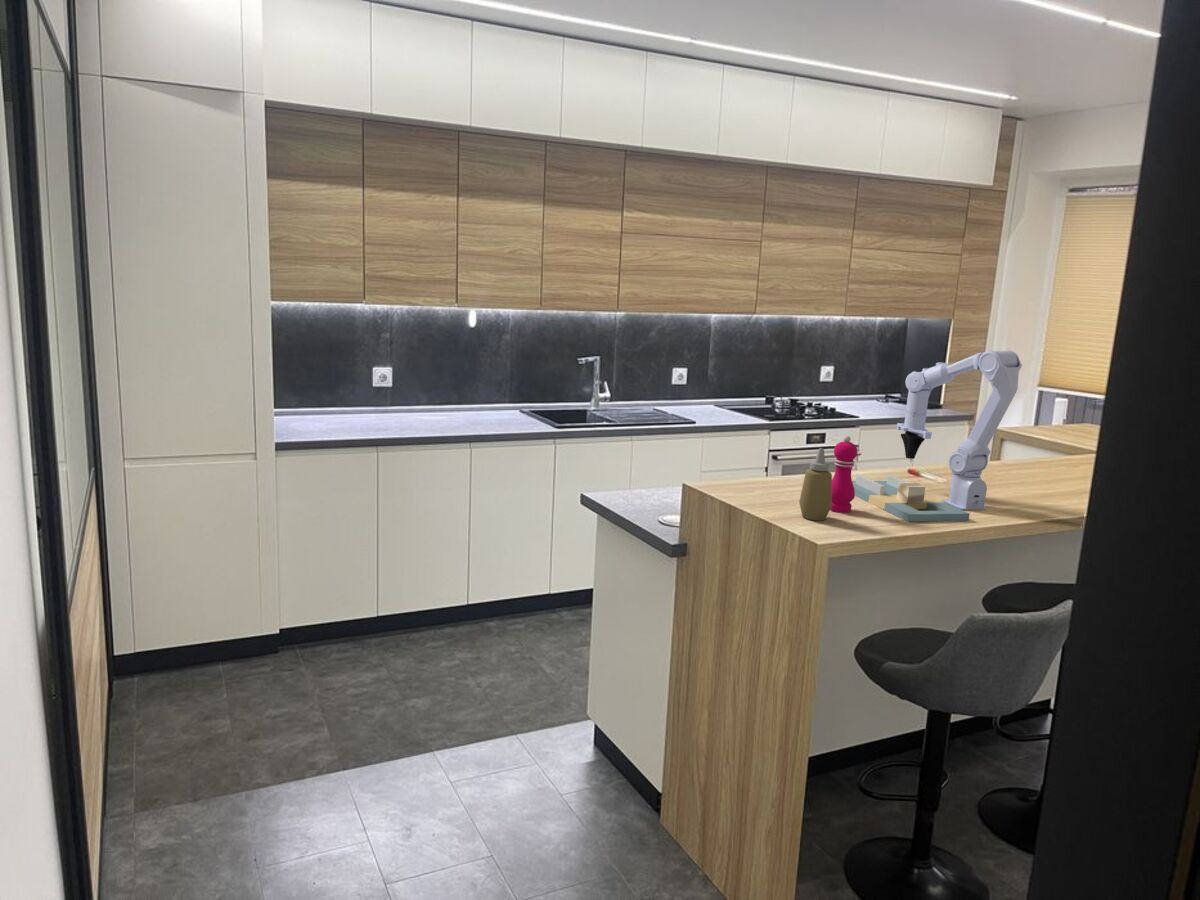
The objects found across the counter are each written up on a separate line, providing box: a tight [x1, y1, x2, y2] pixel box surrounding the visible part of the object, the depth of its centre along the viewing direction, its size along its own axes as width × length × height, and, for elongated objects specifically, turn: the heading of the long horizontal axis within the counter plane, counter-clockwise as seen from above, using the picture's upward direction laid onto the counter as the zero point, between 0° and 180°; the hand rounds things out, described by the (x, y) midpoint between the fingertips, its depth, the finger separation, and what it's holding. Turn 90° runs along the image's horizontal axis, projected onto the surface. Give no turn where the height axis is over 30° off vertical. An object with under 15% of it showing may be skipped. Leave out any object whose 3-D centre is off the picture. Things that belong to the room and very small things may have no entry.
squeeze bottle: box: [798, 447, 833, 521], centre depth 219 cm, size 8×8×18 cm
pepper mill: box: [830, 435, 858, 514], centre depth 229 cm, size 7×7×20 cm
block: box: [897, 481, 926, 503], centre depth 236 cm, size 5×5×4 cm
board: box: [852, 474, 970, 522], centre depth 241 cm, size 35×18×4 cm, turn 14°
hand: (910, 458), depth 257 cm, fingers closed
